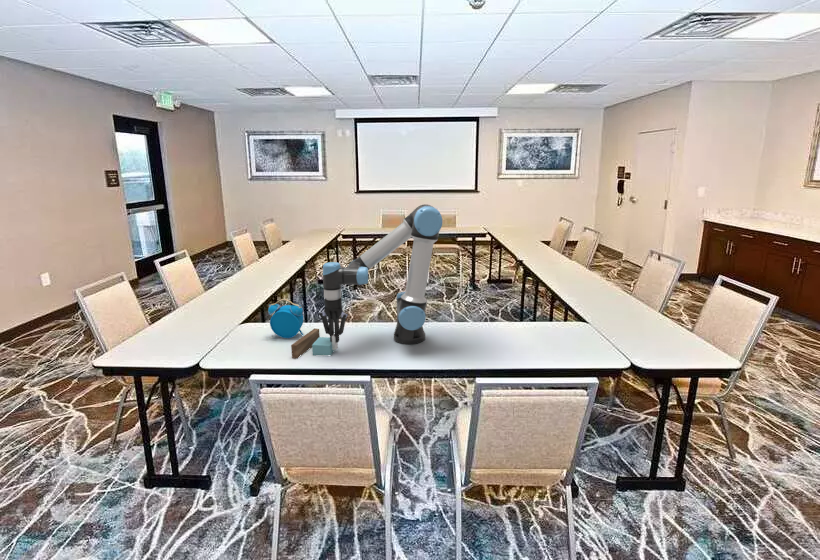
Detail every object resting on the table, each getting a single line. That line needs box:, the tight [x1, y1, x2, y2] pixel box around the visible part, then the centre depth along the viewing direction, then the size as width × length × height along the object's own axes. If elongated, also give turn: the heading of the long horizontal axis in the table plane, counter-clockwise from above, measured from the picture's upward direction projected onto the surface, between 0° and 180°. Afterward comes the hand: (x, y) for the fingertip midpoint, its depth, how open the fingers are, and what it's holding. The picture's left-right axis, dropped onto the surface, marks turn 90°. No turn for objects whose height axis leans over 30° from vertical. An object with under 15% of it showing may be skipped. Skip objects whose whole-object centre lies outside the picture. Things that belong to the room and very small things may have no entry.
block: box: [311, 336, 335, 356], centre depth 212 cm, size 8×10×5 cm
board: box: [290, 328, 321, 359], centre depth 214 cm, size 2×22×6 cm, turn 165°
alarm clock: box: [267, 298, 304, 339], centre depth 228 cm, size 17×10×20 cm, turn 84°
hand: (335, 348), depth 211 cm, fingers closed
